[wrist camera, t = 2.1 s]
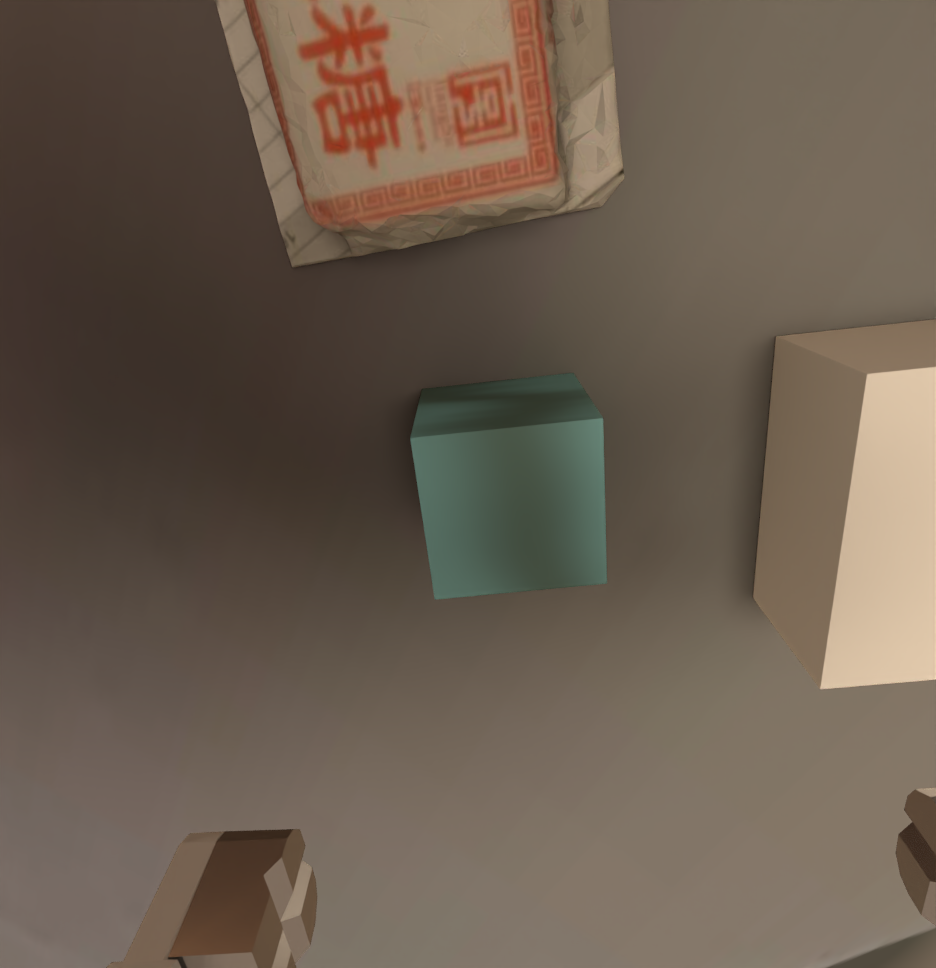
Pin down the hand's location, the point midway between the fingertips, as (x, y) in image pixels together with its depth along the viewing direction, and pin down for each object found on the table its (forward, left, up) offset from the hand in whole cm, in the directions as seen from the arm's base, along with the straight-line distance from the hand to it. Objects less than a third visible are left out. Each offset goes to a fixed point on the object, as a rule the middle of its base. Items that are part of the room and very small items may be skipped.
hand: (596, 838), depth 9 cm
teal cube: (0, 0, -15) cm, 15 cm away
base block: (+14, -2, -14) cm, 20 cm away
